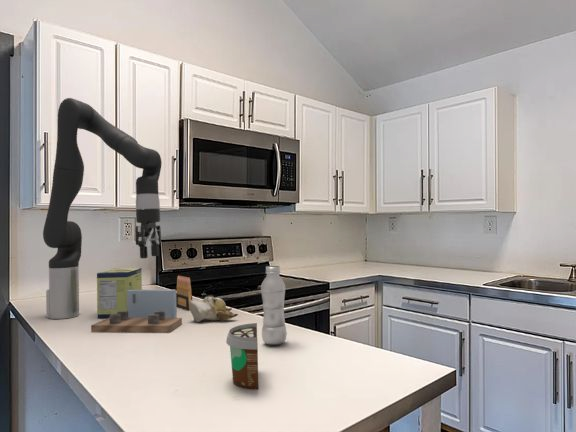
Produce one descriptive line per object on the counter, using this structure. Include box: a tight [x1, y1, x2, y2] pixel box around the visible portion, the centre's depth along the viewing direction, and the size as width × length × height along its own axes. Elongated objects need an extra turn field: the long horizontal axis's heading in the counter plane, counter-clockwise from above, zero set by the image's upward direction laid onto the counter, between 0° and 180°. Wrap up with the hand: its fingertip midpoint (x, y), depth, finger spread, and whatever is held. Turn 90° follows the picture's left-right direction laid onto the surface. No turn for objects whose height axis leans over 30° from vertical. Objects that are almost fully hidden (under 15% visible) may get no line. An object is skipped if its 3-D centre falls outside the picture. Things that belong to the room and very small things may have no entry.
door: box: [127, 289, 178, 318], centre depth 136 cm, size 16×3×10 cm, turn 84°
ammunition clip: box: [176, 275, 193, 312], centre depth 155 cm, size 11×2×12 cm, turn 39°
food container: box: [226, 322, 259, 390], centre depth 83 cm, size 12×6×10 cm, turn 5°
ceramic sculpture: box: [189, 294, 239, 323], centre depth 136 cm, size 11×9×15 cm
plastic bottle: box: [260, 265, 288, 346], centre depth 107 cm, size 6×7×20 cm
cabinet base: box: [90, 311, 183, 334], centre depth 127 cm, size 24×10×4 cm, turn 84°
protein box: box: [96, 267, 143, 320], centre depth 148 cm, size 10×16×16 cm
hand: (149, 257), depth 137 cm, fingers open, 8 cm apart
